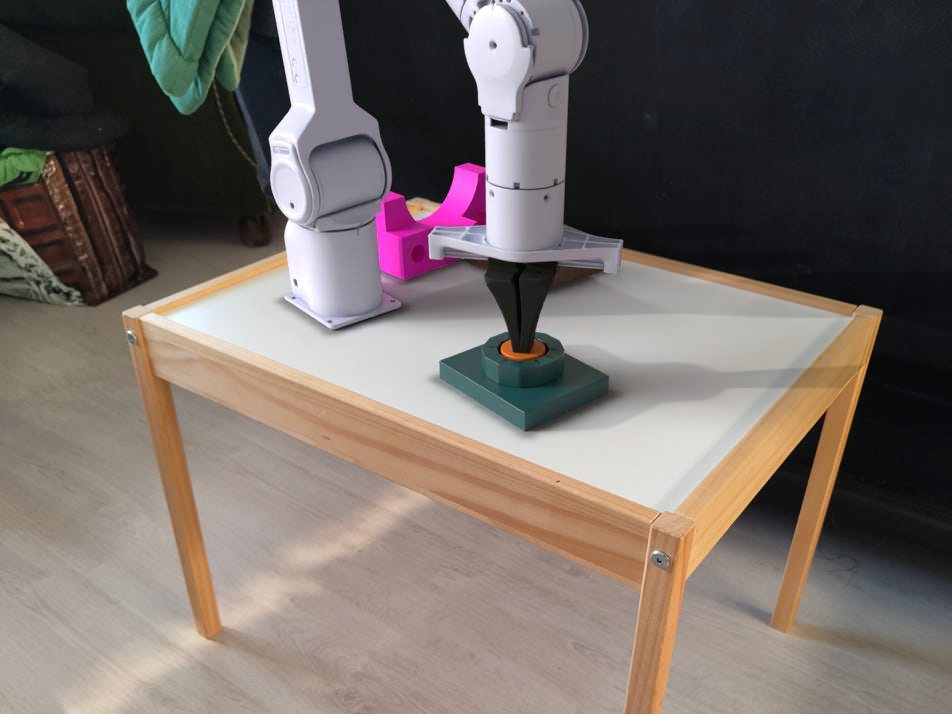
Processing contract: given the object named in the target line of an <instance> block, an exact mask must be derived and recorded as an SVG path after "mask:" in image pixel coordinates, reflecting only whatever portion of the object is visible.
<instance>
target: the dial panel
mask: <svg viewBox="0 0 952 714" xmlns="http://www.w3.org/2000/svg"><path fill="white" fill-rule="evenodd" d="M563 229H565V230H569V231H574V232H579V233H584V234H588V235H591V234H590V233H587V232H585V231H582V230H580V229H577V228H575V227H572V226H569V225H567V224H564V223H563ZM463 261H464V262H467V263H469V264H471V265H473V266H475V267H478V268H479V269H482V270H483V271H485V272H486V271H487V266H488V260H479V259H467V258H464V259H463ZM602 272H604V269H593V268H581V267H568V266H561V267H560V269H559V271H558V273H557V276H556V278H555V280H554V282H553V284H552V286H551V288H550V290H549V291H551V290H553V289H556V288H559V287H562V286H565V285H568V284H571V283H573V282H576V281H579V280H582V279H584V278H587V277H590V276H593V275H596V274H598V273H602Z"/></svg>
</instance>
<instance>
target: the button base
mask: <svg viewBox="0 0 952 714" xmlns="http://www.w3.org/2000/svg"><path fill="white" fill-rule="evenodd" d="M508 340H510V336H509V333H508V331H503V332H501V333H498V334H496V335H494V336H490V337H489V338H488V339H487V340H486V341H485V343H483V344H479V345H476V346H475V347H472V348H469V349H467V350H464V351H461V352H458V353H455V354H454V355H451V356H448V357H446V358H443V359H440V360H439V379H441V380H442V381H444V382H445V383H447V384H448V385H450V386H451V387H453V388H455V389H456V390H458V391H459V392H461V393H463V394H465V396H467V397H469V398H471V399H473V400H474V401H475V402H477V403H478V404H480V405H482V406H483V407H484V408H486V409H488V410H490V411H491V412H493V413H494V414H496V415H498V416H499V417H501V418H503V420H506V421H507V422H509V423H510V424H512V425H514V426H515V427H517V428H518V429H520V430H521V431H523V432H527V431H530V430H531V429H534V428H536V427H538V426H541V425H543V424H544V423H547V422H549V421H552V420H554V419H556V418H558V417H560V416H562V415H564V414H567V413H569V412H572V411H573V410H576V409H578V408H580V407H582V406H584V405H587V404H589V403H591V402H594V401H595V400H598V399H600V398H602V397H604V396H607V395H608V394H609V385H610V375H609V374H606V373H605V372H603V371H601V370H599V369H597V368H595V367H593V366H591V365H589V364H587V363H586V362H584V361H582V360H580V359H578V358H576V357H574V356H572V355H570V354H568V353H566V350H565V348H564V346H563V344H562V342H561V340H559V339H557V338H555V337H554V336H552V335H550V334H548V333H545V332H539V331H536V332H535V340H538V341H540V342H541V343H543V344H544V346H545V356H543V357H541V358H538V359H536V360H526V361H517V360H512V359H507V358H506V357H504V356H502V355H501V346H502V344H503V343H505V342H506V341H508Z"/></svg>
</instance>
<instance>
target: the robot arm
mask: <svg viewBox="0 0 952 714" xmlns="http://www.w3.org/2000/svg"><path fill="white" fill-rule="evenodd" d="M445 1H446V3H447V4H448V6H449V7H450V9H451V10H452V12H453V13H454V14H455V17H457V18H458V20H459V21H460V23H461V24H462V26H463V28H464V29H465V30H466V32H467V33H468V37H465V38H464V39H463V48H464V55H465V58H466V62H467V65H468V67H469V70H470V73H471V74H472V76H473V78H474V80H475V82H476V87H477V101H478V102H477V103H478V104H477V105H478V106H480V109H481V113H482V115H483V116H484V143H485V144H484V145H485V146H484V147H485V151H484V152H485V154H484V155H485V157H484V158H485V168H486V225H483V226H464V227H438V226H436V227H435V228H434V229H433V230H432V232H431V233H430V234H429V235H428V238H429V257H430V259H436V260H442V259H444V258H445V257H454V258H467V259H479V260H488V266H487V271H486V270H485V273H484V282H485V285H486V287H487V288H488V291H490V293H491V295H492V297H493V298H494V300H495V302H496V304H497V306H498V308H499V310H500V313H501V315H502V317H503V320H504V322H505V325H506V330H507V332H508V333H509V336H510V340H511V345H512V352H514V353H524V354H529V353H530V351H531V349H532V347H533V345H534V339H535V332H537V327H538V322H539V319H540V316H541V312H542V310H543V307H544V304H545V301H546V298H547V296H548V294H549V292H550V291H551V290H550V288H551V286H552V284H553V282H554V280H555V278H556V276H557V273H558V271H559V269H560V267H561V266H568V267H581V268H593V269H604V271H603V272H604V273H605V274H611V275H613V274H614V275H618V274H619V272H620V269H621V266H622V259H623V248H624V239H618V238H609V237H602V236H597V235H593V234H590V235H588V234H589V233H588V234H584V233H579V232H574V231H569V230H565V229H563V224H564V215H565V188H566V164H567V162H566V161H567V139H568V137H567V135H568V113H569V112H568V109H569V81H570V75H571V74H572V73H574V71H576V70H577V69H578V68H579V66H580V65H581V63H582V62H583V60H584V58H585V56H586V52H587V50H588V44H589V24H588V23H589V21H588V18H587V13H586V11H585V9H584V7H583V5H582V3H581V1H580V0H445ZM271 2H272V6H273V12H274V18H275V22H276V23H275V24H276V28H277V34H278V38H279V39H278V41H279V45H280V52H281V57H282V61H283V66H284V72H285V78H286V84H287V89H288V95H289V100H290V105H291V106H290V108H289V110H288V112H287V113H286V114H285V115H284V116H283V118H282V120H281V121H280V122H279V123H278V124H277V126H276V127H275V128H274V130H272V132H271V134H270V135H269V137H268V143H269V147H270V148H269V149H270V155H271V156H270V157H271V166H270V174H269V175H270V176H269V178H270V179H269V181H270V187H271V192H272V194H273V198H274V200H275V203H276V205H277V207H278V208H279V209H280V211H281V213H282V214H283V215H284V216H285V217H286V218H287V219H288V220H287V223H286V225H285V229H284V236H283V237H284V245H285V252H286V259H287V265H288V271H289V278H290V286H291V291H290V292H287V293H285V294H284V295H283V297H284V300H286V302H289V303H290V304H291V305H293V306H295V307H296V308H298V309H299V310H301V311H302V312H303V313H305V314H307V315H308V316H310V317H311V318H313V319H314V320H315V321H317V322H319V323H320V324H321V325H323V326H325V327H326V328H328V329H329V330H337V329H340V328H344V327H346V326H350V325H353V324H356V323H358V322H361V321H364V320H367V319H370V318H374V317H377V316H379V315H382V314H385V313H389V312H391V311H395V310H397V309H400V308H401V307H402V302H401V301H399V300H398V299H396V298H394V297H393V296H390V295H389V294H387V293H386V292H383V285H382V274H381V270H380V261H379V249H378V237H377V226H376V216H375V215H376V214H378V213H380V212H382V208H381V201H382V200H383V199H385V198H386V197H387V195H388V193H389V191H391V188H392V187H391V186H392V181H393V174H392V173H393V172H392V171H393V170H392V165H391V161H390V158H389V156H388V153H387V151H386V150H385V147H384V144H383V142H382V137H381V133H380V126H379V125H380V124H379V121H378V120H377V118H376V117H374V116H372V115H371V114H370V113H368V112H367V111H366V110H364V109H363V108H362V107H360V106H359V105H358V104H357V103H355V101H354V97H353V90H352V83H351V77H350V76H351V75H350V69H349V63H348V57H347V50H346V43H345V42H346V41H345V36H344V29H343V23H342V16H341V15H342V14H341V9H340V3H339V0H272V1H271Z"/></svg>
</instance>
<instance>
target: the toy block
mask: <svg viewBox="0 0 952 714" xmlns="http://www.w3.org/2000/svg"><path fill="white" fill-rule="evenodd" d="M381 208H382V212H380V213H378V214H376V215H375V216H376V226H377V237H378V249H379V261H380V271H382V272H384V273H387V274H389V275H391V276H394V277H396V278H398V279H400V280H403V281H407V280H410V279H413V278H415V277H418V276H420V275H424V274H425V273H428V272H431V271H434V270H436V269H439V268H443V267H444V266H445V267H446V266H448V265H450V264H453V263H455V262H458V261H461V260H464V258H454V257H445V258H444V259H442V260H436V259H430V257H429V238H428V235H429V234H430V233H431V232H432V230H433V229H434V228H435V227H436V226H438V227H464V226H483V225H486V167H484V166H480V165H476V164H474V163H471V162H467V163H464V164H460V165H457V166H454V173H453V179H452V183H451V186H450V189H449V191H448V192H447V196H446V197H445V199H444V201H443V202H442V203H441V205H440V206H439V207H438V208H437V209H436V210H435V211H434V212H432V213H431V214H430V215H428V216H427V217H424V218H422V219H418V220H416V219H415V218H414V217H413V216H412V214H411V212H410V210H409V208H408V204H407V201H406V197H405V196H404V195H402V194H400V193H396V192H393V191H391V190H390V191H389V193H388V195H387V197H386V198H385V199H383V200H382V201H381Z"/></svg>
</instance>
